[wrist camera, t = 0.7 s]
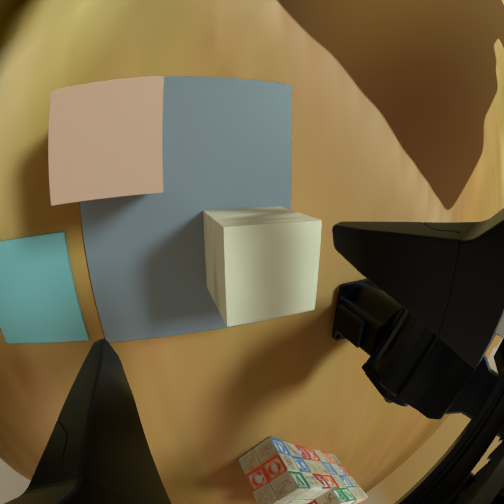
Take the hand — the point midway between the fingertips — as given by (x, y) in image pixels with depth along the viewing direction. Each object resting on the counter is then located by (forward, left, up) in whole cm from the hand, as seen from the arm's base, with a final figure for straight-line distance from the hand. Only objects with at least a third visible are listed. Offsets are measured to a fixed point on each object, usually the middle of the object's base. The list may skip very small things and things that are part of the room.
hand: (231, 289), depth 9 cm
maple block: (-4, +2, -12) cm, 13 cm away
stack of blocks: (-12, +38, -12) cm, 42 cm away
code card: (0, -1, -12) cm, 12 cm away
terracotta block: (+5, -6, -12) cm, 14 cm away
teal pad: (+14, +4, -12) cm, 19 cm away
